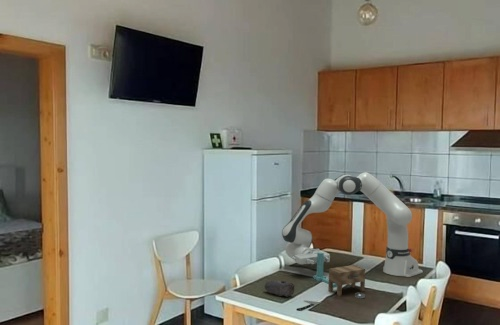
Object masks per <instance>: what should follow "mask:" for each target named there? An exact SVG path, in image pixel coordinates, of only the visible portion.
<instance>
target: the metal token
mask: <svg viewBox="0 0 500 325" xmlns="http://www.w3.org/2000/svg"><path fill="white" fill-rule="evenodd" d="M354 297H355V298H356V299H360V300H361V299H365V297H366V294H365V293H363V292H355V293H354Z"/></svg>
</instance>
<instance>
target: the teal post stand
mask: <svg viewBox="0 0 500 325" xmlns="http://www.w3.org/2000/svg"><path fill="white" fill-rule="evenodd" d="M324 262H325V261H324V253H322V252H319V253H317V262H316V274H315V275H313V278H314V279H313V280H315V279H316V281H318V282H321V281H322V282H323V283H325V284H327V285H329V278H328V279H327V276H325V275H324ZM343 286H344V285H342V287H343ZM334 288H337V284H335V283H333V289H334Z"/></svg>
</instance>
